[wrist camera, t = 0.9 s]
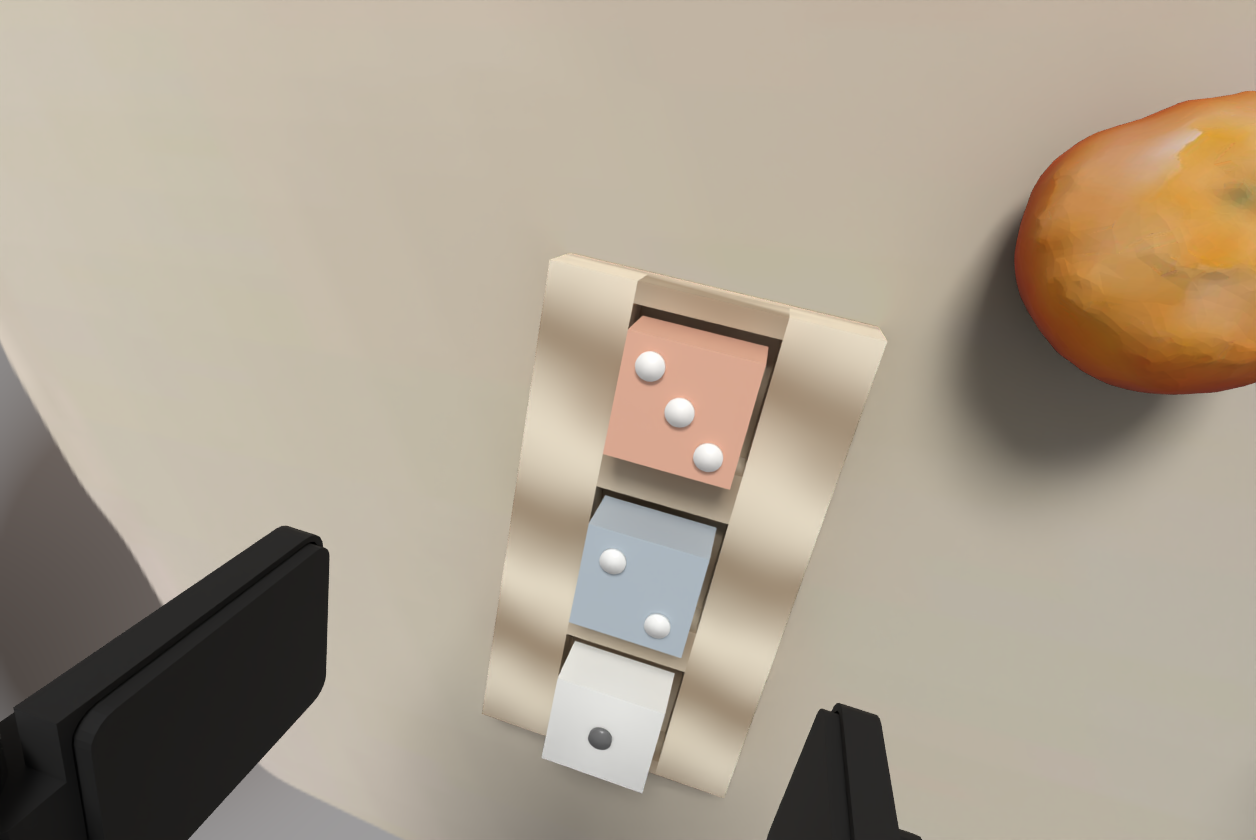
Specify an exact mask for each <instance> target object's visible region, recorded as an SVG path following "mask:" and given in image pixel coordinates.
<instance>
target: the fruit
mask: <svg viewBox="0 0 1256 840" xmlns="http://www.w3.org/2000/svg"><path fill="white" fill-rule="evenodd" d="M1014 264H1015V276H1016V282H1017V286H1018V290H1019V294H1020V297H1021V299H1022V301H1023V303H1024V305H1025V307H1026V309H1027V311H1028V313H1029V314H1030V316H1031V317H1032V319H1033V321H1034V322H1035V324H1036V325H1037V327H1038V329H1039V330H1040V332H1041V333H1042V334H1043V335H1044V337H1045V338H1046V339H1047V340H1048V342H1049V343H1050V344H1051V345H1052V347H1053V348H1054V349H1055V350H1056V351H1057V352H1058V353H1059V354H1060V355H1061V356H1063V357H1064V358H1066V359H1067V360H1068V361H1070V362H1071V363H1073V364H1074V365H1075V366H1076V367H1078V368H1079V369H1080V370H1082V371H1083V372H1085V373H1087V374H1089V375H1091V376H1092V377H1094V378H1096V379H1098V380H1101V381H1103V382H1105V383H1107V384H1110V385H1113V386H1116V387H1120V388H1124V389H1128V390H1132V391H1137V392H1144V393H1153V394H1171V395H1174V394H1195V393H1212V392H1219V391H1224V390H1229V389H1233V388H1238V387H1242V386H1246V385H1249V384H1252V383H1255V382H1256V91H1245V92H1241V93H1237V94H1233V95H1227V96H1221V97H1215V98H1207V99H1197V100H1188V101H1185V102H1181V103H1178V104H1176V105H1174V106H1171V107H1169V108H1166V109H1164V110H1162V111H1159V112H1157V113H1154V114H1152V115H1150V116H1147V117H1145V118H1142V119H1139V120H1136V121H1133V122H1129V123H1126V124H1123V125H1119V126H1116V127H1113V128H1109V129H1106V130H1103V131H1100V132H1097V133H1095V134H1093V135H1091V136H1089V137H1087V138H1085V139H1084V140H1082V141H1080V142H1078V143H1077V144H1076V145H1074V146H1073V147H1072V148H1070V149H1069V150H1067V151H1066V152H1065V153H1063V154H1062V155H1061V156H1059V157H1058V158H1057V159H1056V160H1055V161H1053V162H1052V164H1051V165H1050V166H1049V167H1048V168H1047V169H1046V171H1045V172H1044V173H1043V174H1042V175H1041V176H1040V178H1039V180H1038V181H1037V183H1036V185H1035V186H1034V188H1033V190H1032V192H1031V195H1030V198H1029V201H1028V204H1027V206H1026V209H1025V212H1024V215H1023V218H1022V221H1021V224H1020V228H1019V233H1018V237H1017V242H1016V248H1015V256H1014Z"/></svg>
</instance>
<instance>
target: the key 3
mask: <svg viewBox="0 0 1256 840" xmlns="http://www.w3.org/2000/svg"><path fill="white" fill-rule="evenodd" d="M767 355H768V347H767V346H763V345H759V344H755V343H751V342H747V341H743V340H739V339H735V338H731V337H727V336H723V335H719V334H715V333H711V332H707V331H703V330H699V329H695V328H691V327H687V326H683V325H679V324H675V323H671V322H667V321H663V320H659V319H655V318H651V317H647V316H642V317H641V318H640V319H639V320H637V321H636V322H635V323H634V324H633V325H632V326H631V327H630V328H629V329H628V331H627V336H626V341H625V346H624V351H623V356H622V361H621V366H620V371H619V376H618V381H617V386H616V391H615V396H614V401H613V406H612V411H611V416H610V421H609V426H608V431H607V436H606V441H605V446H604V451H603V454H605V455H608V456H612V457H615V458H619V459H622V460H626V461H629V462H633V463H637V464H640V465H644V466H647V467H651V468H654V469H658V470H661V471H665V472H668V473H672V474H675V475H679V476H683V477H686V478H690V479H693V480H697V481H700V482H704V483H707V484H711V485H714V486H718V487H722V488H725V489H729V490H730V488H731V484H732V481H733V478H734V474H735V471H736V467H737V464H738V460H739V457H740V453H741V450H742V446H743V443H744V439H745V436H746V433H747V429H748V426H749V422H750V419H751V415H752V412H753V408H754V405H755V401H756V398H757V394H758V391H759V388H760V384H761V381H762V377H763V374H764V370H765V367H766V362H767Z"/></svg>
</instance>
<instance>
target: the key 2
mask: <svg viewBox="0 0 1256 840" xmlns="http://www.w3.org/2000/svg"><path fill="white" fill-rule="evenodd" d="M715 533H716V527H712V526H709V525H706V524H702V523H699V522H695V521H692V520H688V519H685V518H682V517H678V516H675V515H671V514H668V513H664V512H661V511H657V510H654V509H651V508H647V507H644V506H640V505H637V504H633V503H630V502H627V501H623V500H620V499H616V498H613V497H609V496H606V495H605V497H604V499H603V500H602V502H601V504H600V505H599V507H598V509H597V510H596V512H595V514H594V516H593V517H592V519H591V521H590V522H589V525H588V530H587V535H586V540H585V545H584V550H583V555H582V560H581V565H580V570H579V575H578V580H577V585H576V589H575V594H574V599H573V604H572V609H571V614H570V619H569V622H570V623H573V624H576V625H579V626H582V627H586V628H589V629H592V630H595V631H598V632H601V633H604V634H607V635H610V636H614V637H617V638H620V639H623V640H626V641H629V642H632V643H635V644H638V645H641V646H645V647H648V648H651V649H654V650H657V651H660V652H663V653H666V654H669V655H673V656H676V657H679V658H681V657H682V654H683V650H684V647H685V644H686V640H687V637H688V633H689V630H690V626H691V623H692V619H693V616H694V612H695V609H696V606H697V602H698V599H699V595H700V592H701V588H702V585H703V581H704V578H705V574H706V571H707V567H708V564H709V561H710V556H711V551H712V547H713V542H714V537H715Z"/></svg>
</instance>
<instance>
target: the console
mask: <svg viewBox="0 0 1256 840" xmlns="http://www.w3.org/2000/svg"><path fill="white" fill-rule="evenodd" d="M642 316H647V317H651V318H655V319H659V320H663V321H667V322H671V323H675V324H679V325H683V326H687V327H691V328H695V329H699V330H703V331H707V332H711V333H715V334H719V335H723V336H727V337H731V338H735V339H739V340H743V341H747V342H751V343H755V344H759V345H763V346H767V347H768V355H767V362H766V367H765V370H764V374H763V377H762V381H761V384H760V388H759V391H758V394H757V398H756V401H755V405H754V408H753V412H752V415H751V419H750V422H749V426H748V429H747V433H746V436H745V439H744V443H743V446H742V450H741V453H740V457H739V460H738V464H737V467H736V471H735V474H734V478H733V481H732V484H731V488H730V490H729V489H725V488H722V487H718V486H714V485H711V484H707V483H704V482H700V481H697V480H693V479H690V478H686V477H683V476H679V475H675V474H672V473H668V472H665V471H661V470H658V469H654V468H651V467H647V466H644V465H640V464H637V463H633V462H629V461H626V460H622V459H619V458H615V457H612V456H608V455H605V454H603V451H604V446H605V441H606V436H607V431H608V426H609V421H610V416H611V411H612V406H613V401H614V396H615V391H616V386H617V381H618V376H619V371H620V366H621V361H622V356H623V351H624V346H625V341H626V336H627V331H628V329H629V328H630V327H631V326H632V325H633V324H634V323H635V322H636V321H637V320H639V319H640V318H641V317H642ZM886 344H887V340H886V338H885V337H884V335H883V333H882V332H881V330H880V328H879V327H877V326H873V325H869V324H865V323H860V322H856V321H852V320H848V319H844V318H840V317H835V316H831V315H827V314H823V313H819V312H815V311H810V310H806V309H802V308H798V307H794V306H790V305H785V304H781V303H777V302H773V301H769V300H764V299H760V298H756V297H752V296H748V295H744V294H739V293H735V292H731V291H727V290H723V289H719V288H714V287H710V286H706V285H702V284H698V283H694V282H689V281H685V280H681V279H677V278H673V277H668V276H664V275H660V274H656V273H652V272H648V271H643V270H639V269H635V268H631V267H627V266H623V265H618V264H614V263H610V262H606V261H602V260H598V259H593V258H589V257H585V256H581V255H577V254H573V253H568V254H565V255H562V256H559V257H556V258H553V259H550V261H549V267H548V274H547V281H546V287H545V294H544V301H543V307H542V314H541V321H540V328H539V334H538V341H537V348H536V354H535V361H534V368H533V375H532V381H531V388H530V395H529V401H528V408H527V415H526V421H525V428H524V435H523V442H522V448H521V455H520V462H519V468H518V475H517V482H516V489H515V495H514V502H513V509H512V515H511V522H510V529H509V535H508V542H507V549H506V556H505V562H504V569H503V576H502V582H501V589H500V596H499V602H498V609H497V616H496V623H495V629H494V636H493V643H492V649H491V656H490V663H489V670H488V676H487V683H486V690H485V696H484V703H483V710H482V714H484V715H487V716H490V717H493V718H495V719H498V720H501V721H504V722H507V723H510V724H513V725H515V726H518V727H521V728H524V729H527V730H530V731H533V732H535V733H538V734H541V735H544V736H546V733H547V728H548V723H549V719H550V714H551V709H552V704H553V699H554V694H555V689H556V684H557V679H558V676H559V674H560V672H561V670H562V668H563V665H564V663H565V661H566V659H567V657H568V655H569V653H570V650H571V648H572V646H573V644H574V642H575V641H577V642H580V643H583V644H586V645H589V646H592V647H595V648H599V649H602V650H605V651H608V652H611V653H614V654H617V655H620V656H623V657H626V658H629V659H632V660H635V661H638V662H642V663H645V664H648V665H651V666H654V667H657V668H660V669H663V670H666V671H669V672H672V673H675V674H674V678H673V683H672V687H671V691H670V695H669V700H668V704H667V708H666V712H665V716H664V720H663V723H662V727H661V730H660V734H659V737H658V740H657V744H656V747H655V751H654V754H653V758H652V761H651V765H650V768H649V772H650V773H653V774H656V775H659V776H661V777H664V778H667V779H670V780H673V781H676V782H679V783H682V784H684V785H687V786H690V787H693V788H696V789H699V790H702V791H704V792H707V793H710V794H713V795H716V796H719V797H722V798H725V795H726V792H727V789H728V786H729V784H730V781H731V778H732V775H733V772H734V770H735V767H736V764H737V761H738V758H739V756H740V753H741V750H742V747H743V744H744V742H745V739H746V736H747V733H748V730H749V728H750V725H751V722H752V719H753V716H754V714H755V711H756V708H757V705H758V702H759V700H760V697H761V694H762V691H763V688H764V685H765V683H766V680H767V677H768V674H769V672H770V669H771V666H772V663H773V660H774V657H775V655H776V652H777V649H778V646H779V643H780V641H781V638H782V635H783V632H784V629H785V627H786V624H787V621H788V618H789V615H790V613H791V610H792V607H793V604H794V601H795V599H796V596H797V593H798V590H799V587H800V585H801V582H802V579H803V576H804V573H805V571H806V568H807V565H808V562H809V559H810V557H811V554H812V551H813V548H814V545H815V543H816V540H817V537H818V534H819V531H820V529H821V526H822V523H823V520H824V517H825V515H826V512H827V509H828V506H829V503H830V501H831V498H832V495H833V492H834V489H835V487H836V484H837V481H838V478H839V475H840V473H841V470H842V467H843V464H844V461H845V459H846V456H847V453H848V450H849V447H850V445H851V442H852V439H853V436H854V433H855V431H856V428H857V425H858V422H859V419H860V417H861V414H862V411H863V408H864V405H865V403H866V400H867V397H868V394H869V391H870V389H871V386H872V383H873V380H874V377H875V375H876V372H877V369H878V366H879V363H880V361H881V358H882V355H883V352H884V349H885V347H886ZM605 495H606V496H609V497H613V498H616V499H620V500H623V501H627V502H630V503H633V504H637V505H640V506H644V507H647V508H651V509H654V510H657V511H661V512H664V513H668V514H671V515H675V516H678V517H682V518H685V519H688V520H692V521H695V522H699V523H702V524H706V525H709V526H712V527H716V533H715V537H714V542H713V547H712V551H711V556H710V561H709V564H708V567H707V571H706V574H705V578H704V581H703V585H702V588H701V592H700V595H699V599H698V602H697V606H696V609H695V612H694V616H693V619H692V623H691V626H690V630H689V633H688V637H687V640H686V644H685V647H684V650H683V654H682V657H681V658H679V657H676V656H673V655H669V654H666V653H663V652H660V651H657V650H654V649H651V648H648V647H645V646H641V645H638V644H635V643H632V642H629V641H626V640H623V639H620V638H617V637H614V636H610V635H607V634H604V633H601V632H598V631H595V630H592V629H589V628H586V627H582V626H579V625H576V624H573V623H570V622H569V619H570V614H571V609H572V604H573V599H574V594H575V589H576V585H577V580H578V575H579V570H580V565H581V560H582V555H583V550H584V545H585V540H586V535H587V530H588V525H589V522H590V521H591V519H592V517H593V516H594V514H595V512H596V510H597V509H598V507H599V505H600V504H601V502H602V500H603V499H604V497H605Z"/></svg>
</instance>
